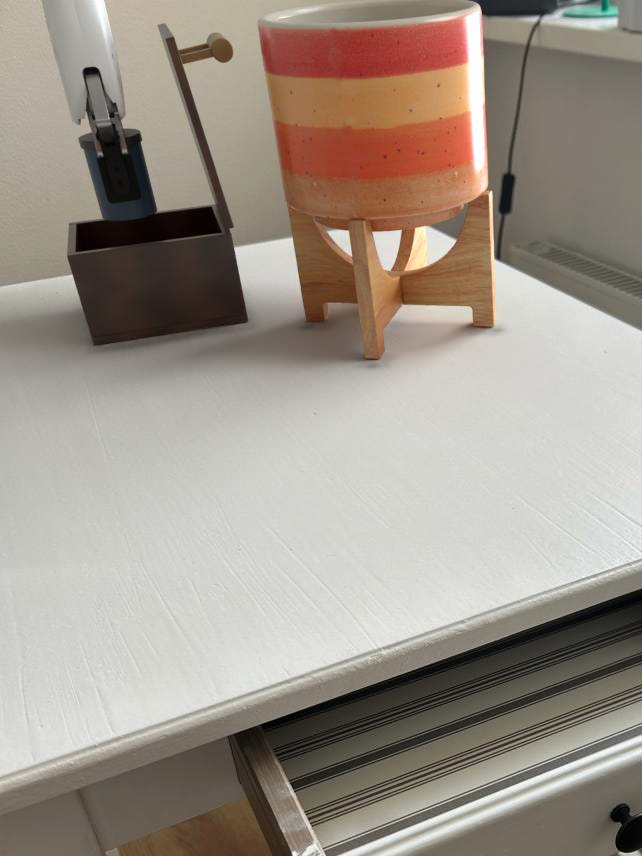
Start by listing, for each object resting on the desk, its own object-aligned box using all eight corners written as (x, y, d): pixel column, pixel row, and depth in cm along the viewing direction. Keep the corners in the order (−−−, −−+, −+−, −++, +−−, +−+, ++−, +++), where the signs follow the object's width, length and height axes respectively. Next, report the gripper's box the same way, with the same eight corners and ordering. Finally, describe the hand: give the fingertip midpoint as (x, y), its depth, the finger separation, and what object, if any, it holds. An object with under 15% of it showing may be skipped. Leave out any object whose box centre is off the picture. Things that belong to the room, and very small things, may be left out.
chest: (93, 345, 98) (66, 255, 93) (93, 306, 108) (68, 222, 103) (248, 321, 102) (231, 233, 96) (234, 285, 111) (218, 203, 106)
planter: (337, 287, 109) (299, 1, 93) (513, 290, 105) (505, -7, 89) (272, 355, 94) (212, 28, 77) (475, 363, 90) (457, 20, 74)
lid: (165, 38, 86) (229, 23, 86) (157, 24, 95) (215, 11, 96) (226, 229, 96) (283, 214, 97) (213, 200, 106) (265, 186, 106)
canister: (93, 223, 96) (70, 143, 91) (108, 208, 100) (87, 130, 96) (152, 219, 96) (132, 138, 91) (164, 204, 100) (146, 126, 96)
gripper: (26, -28, 92) (85, 180, 103) (17, -16, 79) (85, 220, 90) (109, -35, 93) (158, 170, 104) (113, -25, 80) (168, 209, 91)
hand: (124, 191), depth 97 cm, fingers closed on canister, 5 cm apart
